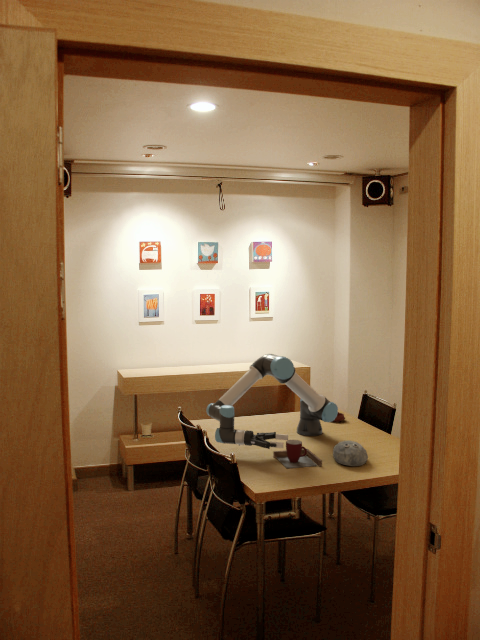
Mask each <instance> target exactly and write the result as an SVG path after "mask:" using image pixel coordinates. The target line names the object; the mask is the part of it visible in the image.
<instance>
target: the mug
mask: <svg viewBox="0 0 480 640" xmlns="http://www.w3.org/2000/svg"><path fill="white" fill-rule="evenodd" d="M302 449H304V450H305V453H304V454H303V455H301V450H302ZM306 449H307V448H306V447H305V446H303V442H302V440H299V439H288V440H285V450H286V451H287V457H288V459H289V461H290V462H292V463H296V462H298V460H299V458H300V457H303V456H305V455H306V453H307V450H306ZM306 456H307V455H306Z"/></svg>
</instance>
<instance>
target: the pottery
mask: <svg viewBox="0 0 480 640" xmlns="http://www.w3.org/2000/svg"><path fill="white" fill-rule="evenodd" d="M345 420H346V417H345V414H344V413H342V412H339V411H338V414H337V416H336V418H335V419H334V420H333V421H332V422H334V423H339V422H342V421H345Z"/></svg>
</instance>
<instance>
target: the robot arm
mask: <svg viewBox="0 0 480 640" xmlns="http://www.w3.org/2000/svg"><path fill="white" fill-rule="evenodd" d="M266 376H271V377H272V378H274V379H275V380H276V381H277V382H279V383H280V384H282V385H284V384H285V385H286V386H287V388H289V389H290V391H292V392H293V393H294V394H295V395H297V396H298V397H299V398H300V401H299V402H300V403H299V404H300V406H299V412H300V413H299V421H298V423H297V427H296V433H297V434H299V435H302V436H306V437H307V436H309V437H314V436H320V435H322V434H323V427H322V424H321V421H323V422H324V423H331V422H333V420H334V419H335V418H336V416H337V414H338V412H339V408H338V405H337V404H336V403H335V402H334V401H330V400H329V399H328V398H327V396H325V395H323V394H319V393H318V392H317V391H316V390H315V389H314V388H313V387H311V385H310V384H308V383H307V381H305V380H304V379H303V378H302V377H301V376H300V375H299V374H298V373H297V372H296V367H295V365H294V363H293V362H292V360H291V359H290V358H288V357H286V356H281V355H276V354H273V353H267V354H263V355H262V356H260V357H259V358H257V359H256V360H255V361H254V362H252V364H251V365H249V369H248V370H247V371H246V372H245V373H244V374H243V375H242V376H241V377H240V378H239V379H238V380H237V381H236V382H235V383H234V384H233V385H232V386H231V387H230V388H229V389H228V390H227V391H226V392H224V393H223V395H221V396H220V398H219V399H218V400H216V402H211V403H209V404H208V405H207V407H206V410H205V411H206V414H207V416H209V417H210V418H212V419H215V420H216V421H218V422H219V427H217V428H216V429H215V433H214V439H215V442H216V443H219V444H227V445H228V444H229V445H238V447H239V446H248V447H251V446H257V447H260V448H265V449H267V450H270V448H275V449H284V442H281V441H282V440H283V441H287V440H289V434H282V433H277V431H274V432H256V434H255V433H254V431H253V430H245V429H235V414H236V413H235V407H234V406H233V405H235V403H237V401H238V400H240V399H241V398H242V396H243V395H245V394H246V392H248V391H249V390H250V389H251V387H253V385H254V384H256V383H257V382H258V381H259V380H262V379H264V377H266ZM274 439H275V440H279V441H268V440H274ZM280 440H281V441H280Z"/></svg>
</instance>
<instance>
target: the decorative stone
mask: <svg viewBox="0 0 480 640" xmlns="http://www.w3.org/2000/svg"><path fill="white" fill-rule="evenodd" d="M332 456H333V459H334V460H335V462H336V463H337V464H340V465H344V466H348V467H349V466H350V467H358V466H363V465H365V464H366V463H367V461H368V460H369V456H368V451H367V450H366V449H365V448H364V446H363V445H362V444H361V443H359V442H357V441H354V440H342V441H339V442H338V443H336V445H334V446H333V450H332Z"/></svg>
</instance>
